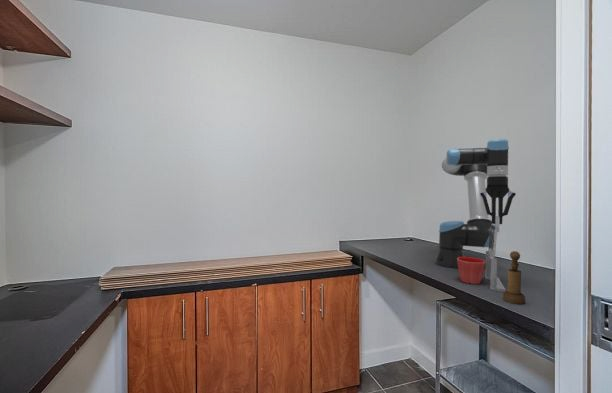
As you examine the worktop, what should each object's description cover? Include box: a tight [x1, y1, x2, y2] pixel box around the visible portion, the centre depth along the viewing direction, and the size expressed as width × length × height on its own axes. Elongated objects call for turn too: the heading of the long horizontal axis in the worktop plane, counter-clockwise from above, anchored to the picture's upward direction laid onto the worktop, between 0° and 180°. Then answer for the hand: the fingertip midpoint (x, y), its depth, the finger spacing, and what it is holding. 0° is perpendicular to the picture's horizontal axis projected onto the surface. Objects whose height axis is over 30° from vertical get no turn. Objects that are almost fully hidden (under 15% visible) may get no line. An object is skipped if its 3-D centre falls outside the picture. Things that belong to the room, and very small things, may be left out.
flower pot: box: [457, 256, 486, 285], centre depth 130 cm, size 11×11×10 cm
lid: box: [487, 224, 498, 259], centre depth 126 cm, size 13×14×2 cm
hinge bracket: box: [484, 250, 507, 293], centre depth 126 cm, size 19×5×12 cm, turn 155°
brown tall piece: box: [502, 250, 526, 305], centre depth 107 cm, size 7×6×18 cm
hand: (496, 231), depth 126 cm, fingers closed
